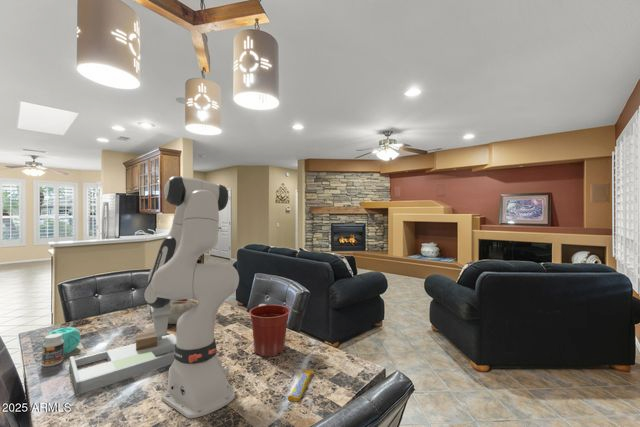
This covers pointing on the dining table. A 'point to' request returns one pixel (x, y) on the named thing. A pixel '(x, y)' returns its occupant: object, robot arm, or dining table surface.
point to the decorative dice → (68, 338)
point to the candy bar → (300, 385)
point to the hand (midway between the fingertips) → (159, 339)
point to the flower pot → (269, 329)
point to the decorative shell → (179, 310)
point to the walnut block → (146, 340)
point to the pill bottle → (53, 350)
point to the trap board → (120, 364)
